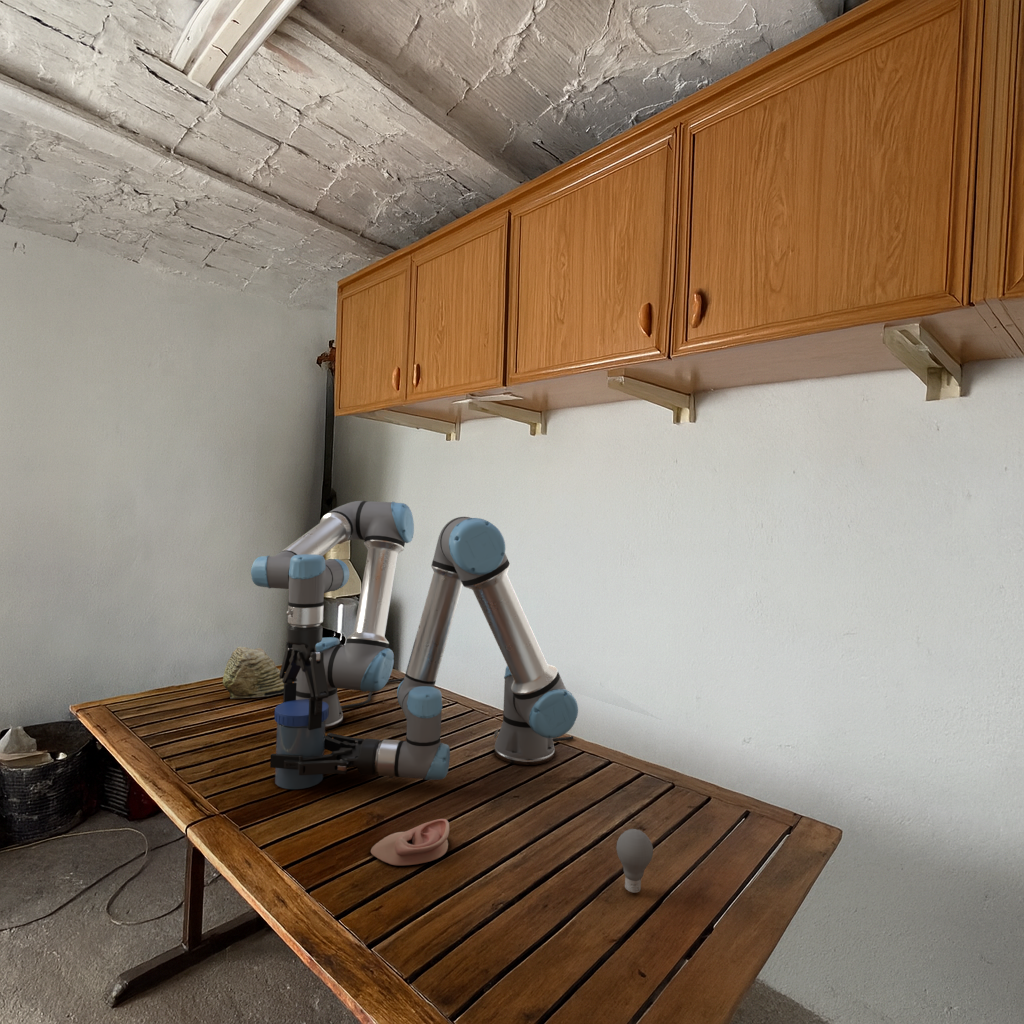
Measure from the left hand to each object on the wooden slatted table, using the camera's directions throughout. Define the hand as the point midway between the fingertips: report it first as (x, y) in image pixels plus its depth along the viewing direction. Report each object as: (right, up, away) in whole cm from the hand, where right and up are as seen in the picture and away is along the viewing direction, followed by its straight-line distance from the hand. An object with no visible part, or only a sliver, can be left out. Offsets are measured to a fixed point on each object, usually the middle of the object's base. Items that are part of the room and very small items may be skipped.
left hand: (301, 720), depth 141 cm
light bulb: (+67, -17, -36) cm, 78 cm away
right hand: (-4, -7, 0) cm, 8 cm away
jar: (-1, -13, 0) cm, 13 cm away
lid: (0, +3, 0) cm, 3 cm away
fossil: (-34, -11, +57) cm, 67 cm away
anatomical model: (+29, -15, -26) cm, 42 cm away
